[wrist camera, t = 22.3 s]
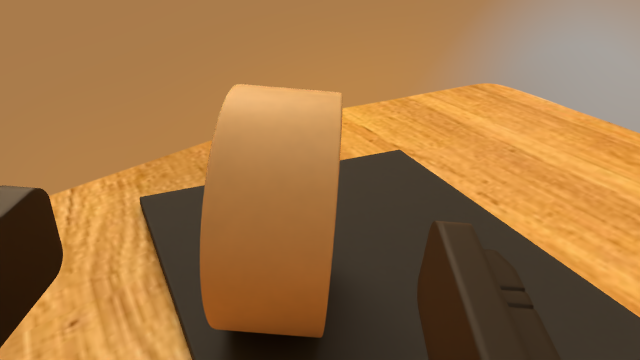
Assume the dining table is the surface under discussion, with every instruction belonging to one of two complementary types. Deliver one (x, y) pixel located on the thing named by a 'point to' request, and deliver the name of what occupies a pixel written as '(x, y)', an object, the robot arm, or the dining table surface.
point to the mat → (386, 273)
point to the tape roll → (271, 210)
